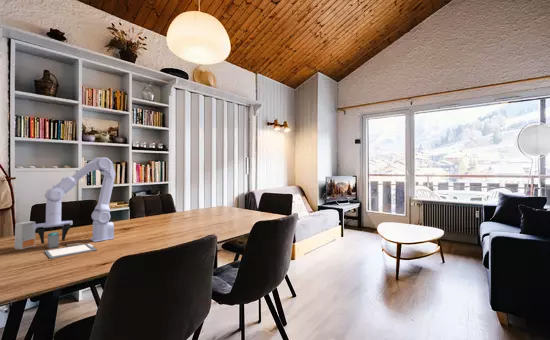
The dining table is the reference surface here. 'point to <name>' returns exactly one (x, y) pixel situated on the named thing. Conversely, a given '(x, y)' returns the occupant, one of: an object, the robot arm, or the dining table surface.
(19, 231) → the skincare box
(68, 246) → the word placard
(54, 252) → the clipboard
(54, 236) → the teal-capped grey stamp
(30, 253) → the dining table surface
